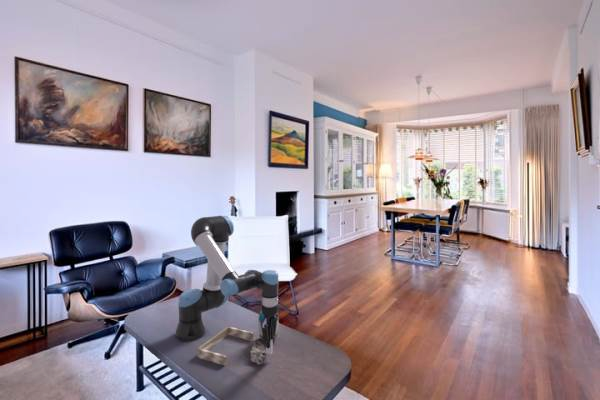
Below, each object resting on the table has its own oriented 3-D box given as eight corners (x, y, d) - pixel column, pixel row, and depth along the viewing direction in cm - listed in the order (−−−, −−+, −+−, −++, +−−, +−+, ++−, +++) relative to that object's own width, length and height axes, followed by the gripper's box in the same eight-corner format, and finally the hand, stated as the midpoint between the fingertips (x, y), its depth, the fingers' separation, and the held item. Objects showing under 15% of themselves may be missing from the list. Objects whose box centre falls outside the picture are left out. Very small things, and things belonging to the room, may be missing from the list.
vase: (275, 345, 153) (275, 309, 152) (255, 343, 155) (255, 307, 154) (280, 335, 164) (281, 301, 162) (262, 333, 166) (262, 299, 164)
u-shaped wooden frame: (196, 357, 142) (196, 348, 142) (227, 333, 165) (227, 326, 165) (225, 365, 136) (225, 357, 136) (253, 339, 159) (253, 332, 158)
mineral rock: (263, 367, 136) (263, 357, 136) (246, 365, 136) (246, 356, 136) (269, 349, 150) (269, 340, 150) (254, 348, 151) (254, 339, 151)
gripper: (270, 311, 132) (269, 362, 134) (283, 300, 144) (282, 347, 146) (255, 308, 135) (255, 358, 137) (269, 298, 147) (268, 344, 149)
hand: (269, 353), depth 141 cm, fingers closed
